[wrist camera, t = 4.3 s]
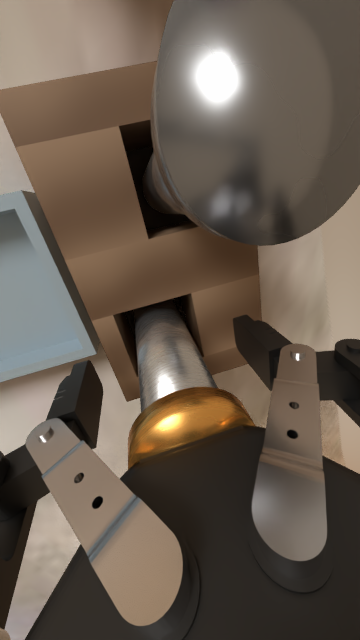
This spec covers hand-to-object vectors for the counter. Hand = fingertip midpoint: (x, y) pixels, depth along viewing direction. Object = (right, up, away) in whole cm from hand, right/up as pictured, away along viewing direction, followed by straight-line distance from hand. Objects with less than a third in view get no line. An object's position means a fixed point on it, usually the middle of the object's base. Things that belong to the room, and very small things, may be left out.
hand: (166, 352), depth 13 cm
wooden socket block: (-1, +7, +4) cm, 8 cm away
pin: (0, +11, +3) cm, 11 cm away
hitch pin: (-1, +3, +6) cm, 7 cm away
